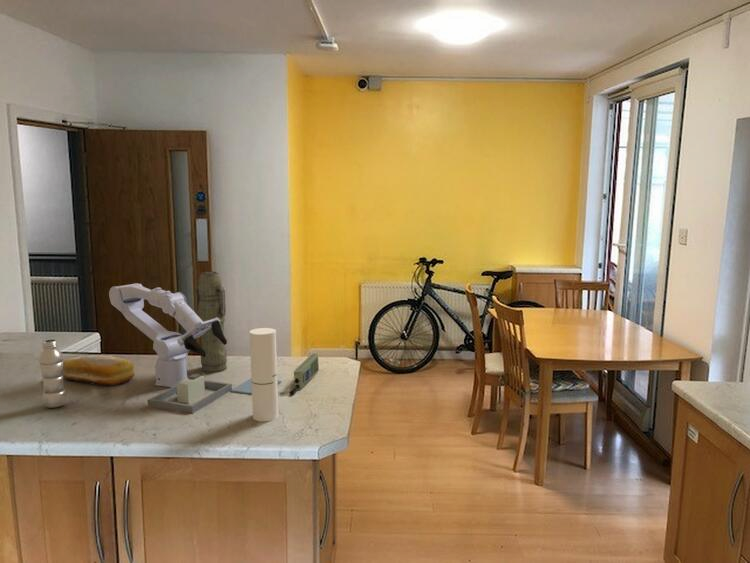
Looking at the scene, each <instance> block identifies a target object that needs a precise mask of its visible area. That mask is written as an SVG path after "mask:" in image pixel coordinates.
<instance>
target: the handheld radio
mask: <svg viewBox="0 0 750 563" xmlns="http://www.w3.org/2000/svg"><path fill="white" fill-rule="evenodd" d="M318 371H319V372H320V369H319V354H318V353H311V354H310V355H309V356H308V357H307V358H306V359H305V360H304V361H303V362H302V363H301V364H299V365H298V366H297V367H296V369H295V370H294V371H293V380H294V387H293V388H292V389H291V390H290V392H289V394H290V395H292V396H293V395H294V394H295V393H296V392H297V391H302V390H303V389H304V388H305V386H307V385H308V384H309V382H310V381H311V380H312V379H313V378H314V377H315V376H316V375H317V374H318V373H319V372H318Z"/></svg>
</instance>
